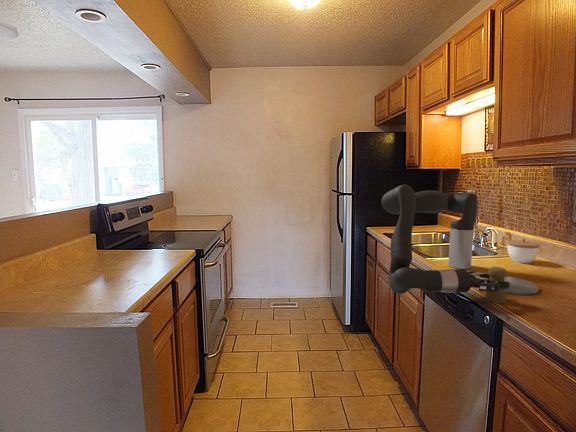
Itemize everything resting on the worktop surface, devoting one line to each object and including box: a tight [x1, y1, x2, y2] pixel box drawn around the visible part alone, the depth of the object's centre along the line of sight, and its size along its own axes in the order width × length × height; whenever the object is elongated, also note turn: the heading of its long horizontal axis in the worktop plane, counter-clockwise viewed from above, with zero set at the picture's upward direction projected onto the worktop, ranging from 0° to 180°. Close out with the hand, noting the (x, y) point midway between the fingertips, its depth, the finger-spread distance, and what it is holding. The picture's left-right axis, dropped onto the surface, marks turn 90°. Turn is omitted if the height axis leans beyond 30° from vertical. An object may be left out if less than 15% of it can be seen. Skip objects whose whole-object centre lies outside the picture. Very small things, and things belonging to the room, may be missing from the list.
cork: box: [484, 266, 508, 304], centre depth 115 cm, size 6×6×11 cm
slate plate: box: [485, 276, 539, 296], centre depth 129 cm, size 18×18×1 cm
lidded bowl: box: [507, 238, 541, 264], centre depth 164 cm, size 13×13×11 cm
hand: (500, 280), depth 114 cm, fingers open, 8 cm apart
